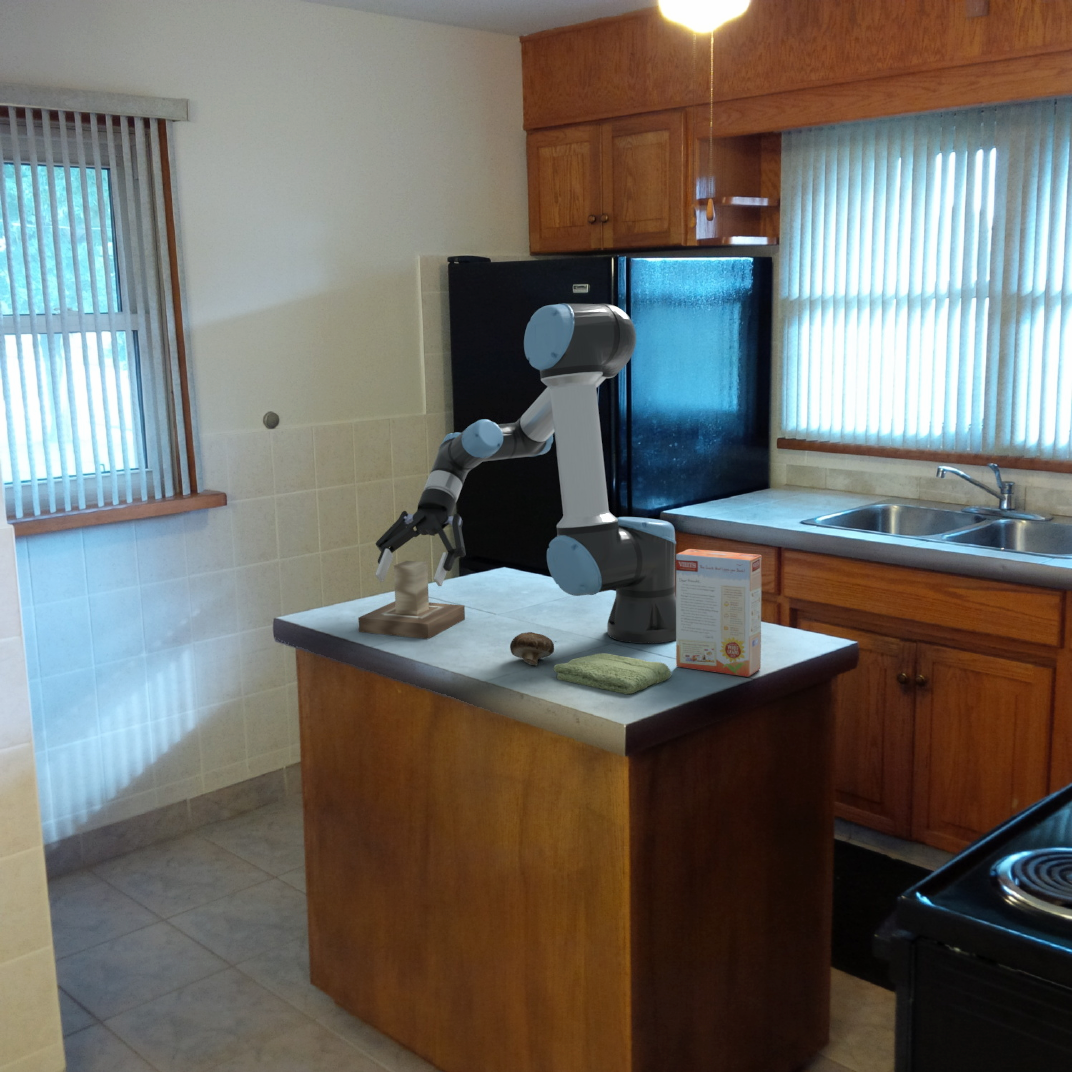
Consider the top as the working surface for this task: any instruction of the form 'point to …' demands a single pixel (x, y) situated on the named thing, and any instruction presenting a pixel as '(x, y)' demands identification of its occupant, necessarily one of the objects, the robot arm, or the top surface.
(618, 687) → the washcloth
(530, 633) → the mushroom
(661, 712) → the top surface
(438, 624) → the base board
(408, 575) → the beech pillar
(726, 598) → the cracker box
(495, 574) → the top surface
